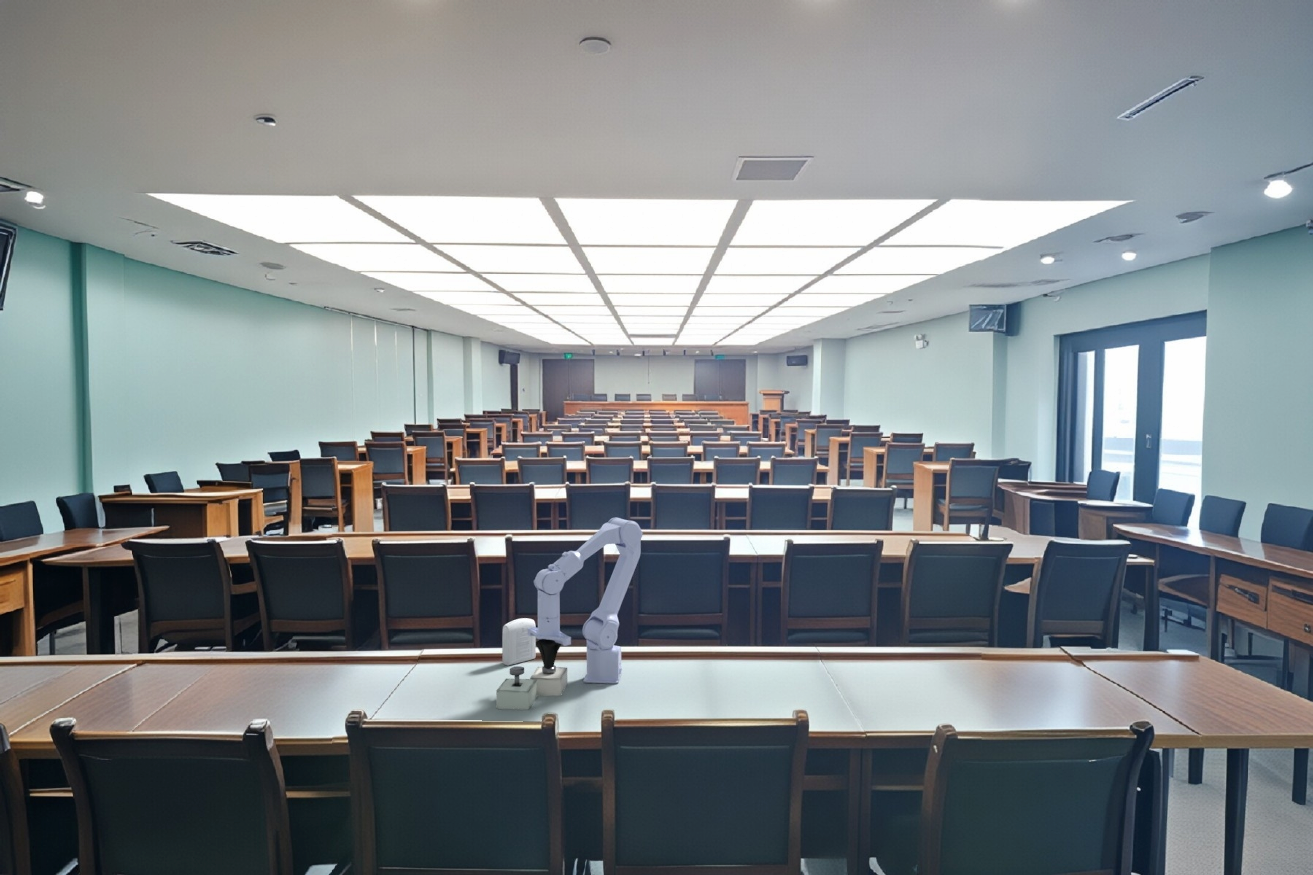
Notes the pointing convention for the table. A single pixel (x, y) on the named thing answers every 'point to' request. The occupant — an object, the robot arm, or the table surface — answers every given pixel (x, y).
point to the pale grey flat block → (516, 694)
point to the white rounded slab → (518, 641)
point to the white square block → (550, 681)
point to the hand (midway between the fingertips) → (549, 667)
